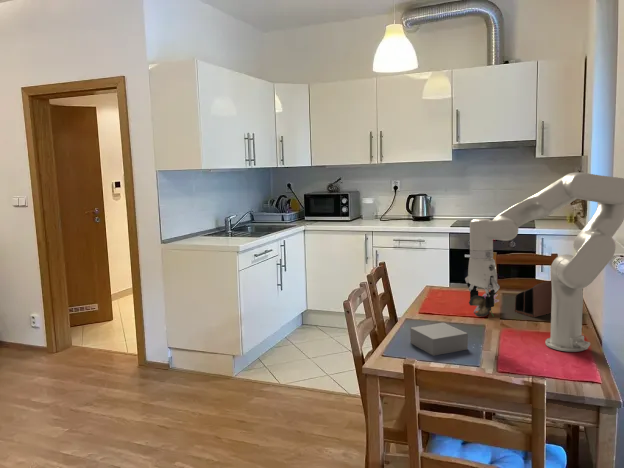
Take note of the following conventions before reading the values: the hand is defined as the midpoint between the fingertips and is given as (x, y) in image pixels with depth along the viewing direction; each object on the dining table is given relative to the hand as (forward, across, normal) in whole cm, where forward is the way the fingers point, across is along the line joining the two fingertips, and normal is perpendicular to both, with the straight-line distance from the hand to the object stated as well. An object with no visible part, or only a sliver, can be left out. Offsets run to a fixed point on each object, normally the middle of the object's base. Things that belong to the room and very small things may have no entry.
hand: (481, 304), depth 180 cm
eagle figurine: (+3, -1, +1) cm, 3 cm away
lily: (+15, +28, -27) cm, 42 cm away
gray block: (+14, +5, +15) cm, 21 cm away
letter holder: (+15, +21, -49) cm, 56 cm away
